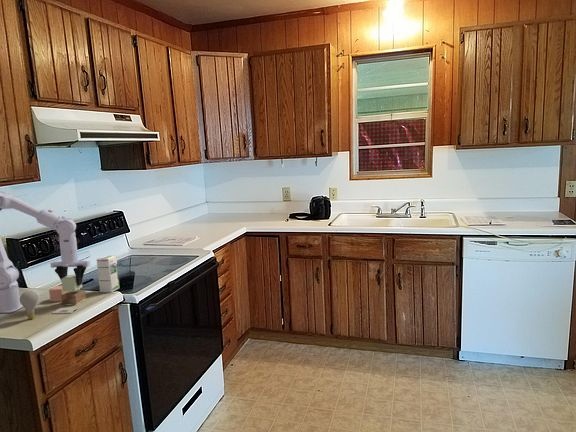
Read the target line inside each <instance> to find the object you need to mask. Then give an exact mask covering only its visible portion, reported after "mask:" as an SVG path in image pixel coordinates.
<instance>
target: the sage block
mask: <svg viewBox="0 0 576 432" xmlns="http://www.w3.org/2000/svg"><path fill="white" fill-rule="evenodd" d="M61 280H62V281H61ZM60 281H61V286H62V290H63V291H79V290H81V288H83V283H82V284H81V285H79V286H77V282H76V275H75V274H67V276H66V277H64V278H61V279H60Z"/></svg>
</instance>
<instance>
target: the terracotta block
mask: <svg viewBox="0 0 576 432" xmlns="http://www.w3.org/2000/svg"><path fill="white" fill-rule="evenodd" d="M48 291H49V301H61V302H62V299H61V295H63V294H65V293H67V292H69V291H63V290H62V285H55V286H54V287H52V288H51V287H50V289H48Z"/></svg>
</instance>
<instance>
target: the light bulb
mask: <svg viewBox="0 0 576 432" xmlns="http://www.w3.org/2000/svg"><path fill="white" fill-rule="evenodd" d="M19 296H20V304H22V305H23V307H22V308H24V309H25V310H26V314H27V319H30V320H32V319H34V318H35V316H36V315H35V308H36V305H37V303H38V301H39V295H38V293H37V292H36V291H34V290H26V291H24V292H23V293H22V294H20V295H19Z"/></svg>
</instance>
